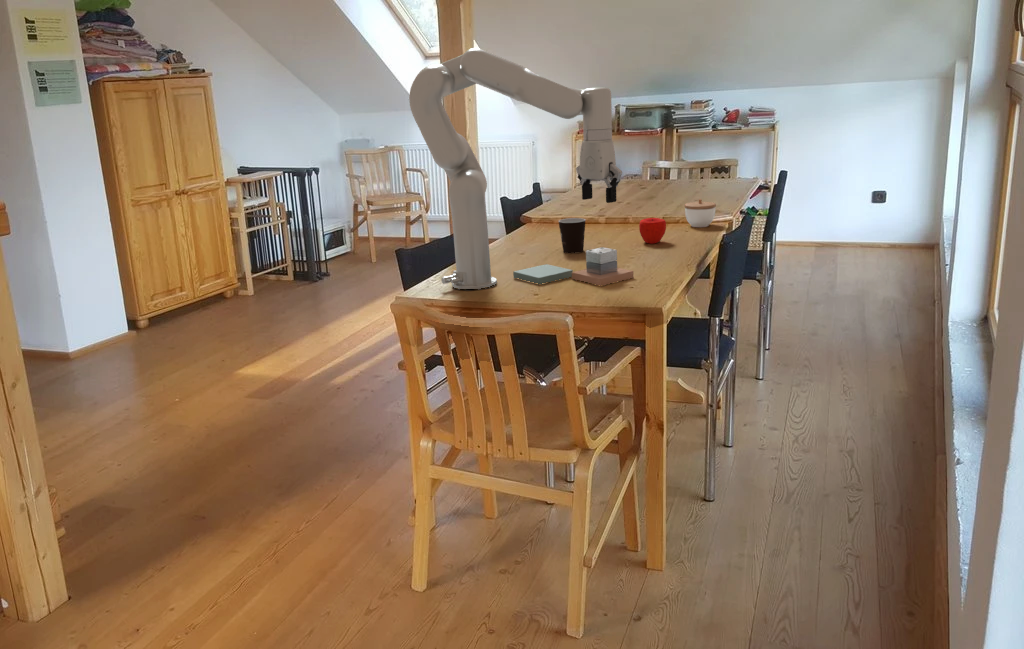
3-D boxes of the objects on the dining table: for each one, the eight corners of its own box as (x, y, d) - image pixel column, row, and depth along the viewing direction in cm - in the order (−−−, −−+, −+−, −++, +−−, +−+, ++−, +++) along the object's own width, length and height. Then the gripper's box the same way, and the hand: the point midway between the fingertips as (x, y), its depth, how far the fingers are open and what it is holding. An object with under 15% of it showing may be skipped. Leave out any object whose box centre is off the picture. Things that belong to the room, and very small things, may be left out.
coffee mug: (581, 254, 271) (580, 223, 268) (555, 253, 275) (554, 222, 272) (593, 247, 281) (592, 216, 278) (568, 246, 285) (567, 216, 282)
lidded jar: (719, 223, 307) (720, 197, 304) (709, 229, 298) (709, 202, 296) (691, 222, 313) (691, 196, 310) (680, 227, 304) (680, 201, 301)
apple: (671, 242, 280) (671, 218, 278) (648, 246, 277) (647, 222, 275) (657, 238, 288) (657, 215, 286) (634, 242, 285) (633, 218, 283)
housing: (601, 275, 234) (600, 253, 232) (586, 272, 239) (585, 250, 237) (617, 271, 237) (616, 249, 236) (602, 268, 242) (602, 246, 240)
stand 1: (539, 285, 236) (538, 277, 236) (513, 278, 246) (513, 271, 245) (573, 277, 243) (572, 270, 242) (546, 270, 252) (546, 264, 252)
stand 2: (600, 286, 231) (600, 279, 230) (572, 279, 240) (571, 272, 240) (633, 278, 237) (633, 270, 237) (604, 271, 247) (604, 264, 246)
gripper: (566, 136, 232) (568, 199, 237) (609, 138, 219) (610, 205, 224) (587, 133, 237) (588, 196, 241) (630, 135, 223) (631, 201, 228)
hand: (599, 200), depth 233 cm, fingers open, 9 cm apart
